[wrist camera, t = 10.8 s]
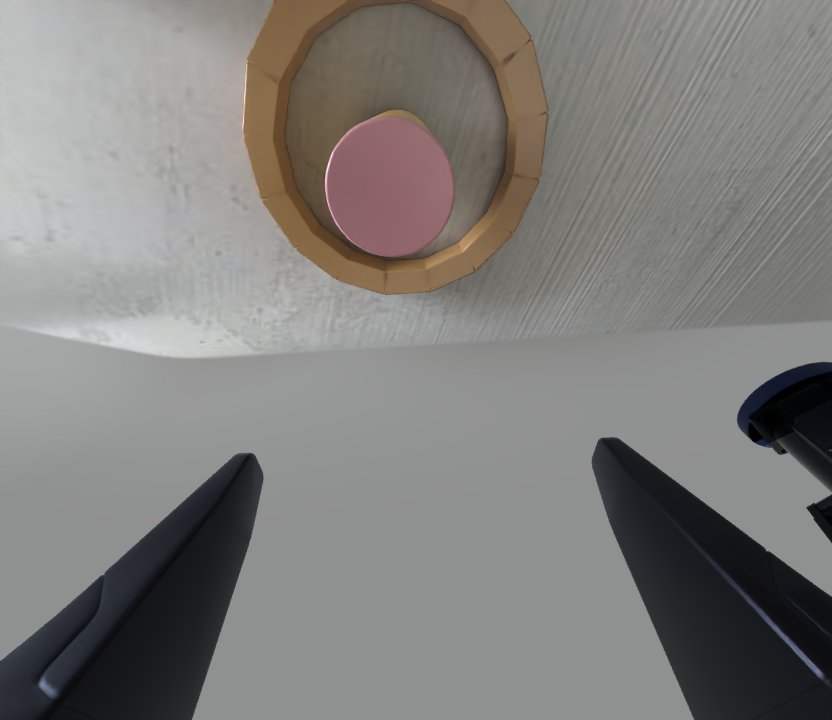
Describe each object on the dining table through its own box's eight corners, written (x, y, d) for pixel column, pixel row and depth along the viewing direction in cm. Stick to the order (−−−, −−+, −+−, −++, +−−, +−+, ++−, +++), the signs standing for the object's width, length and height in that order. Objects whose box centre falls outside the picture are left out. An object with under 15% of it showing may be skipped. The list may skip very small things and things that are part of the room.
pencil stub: (447, 148, 16) (482, 187, 8) (402, 203, 17) (398, 280, 10) (393, 90, 15) (379, 78, 7) (349, 154, 16) (299, 201, 8)
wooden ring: (591, 139, 16) (607, 142, 14) (411, 322, 21) (411, 335, 19) (372, -162, 11) (368, -195, 10) (207, 167, 16) (191, 173, 15)
